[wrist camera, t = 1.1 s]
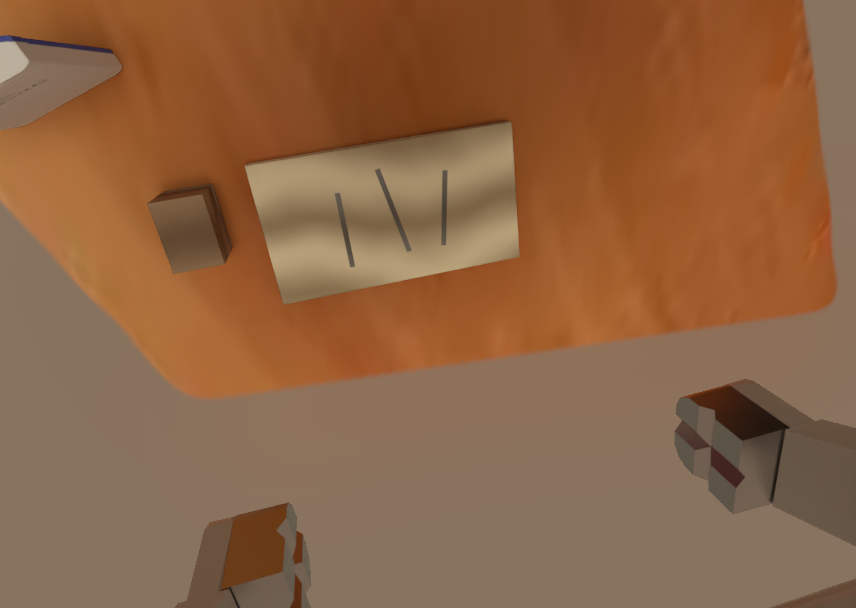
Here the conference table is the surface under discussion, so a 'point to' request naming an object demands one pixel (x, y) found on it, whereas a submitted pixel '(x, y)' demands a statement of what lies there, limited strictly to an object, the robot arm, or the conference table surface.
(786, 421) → the robot arm
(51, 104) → the hard drive
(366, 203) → the board
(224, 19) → the conference table surface
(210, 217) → the block
